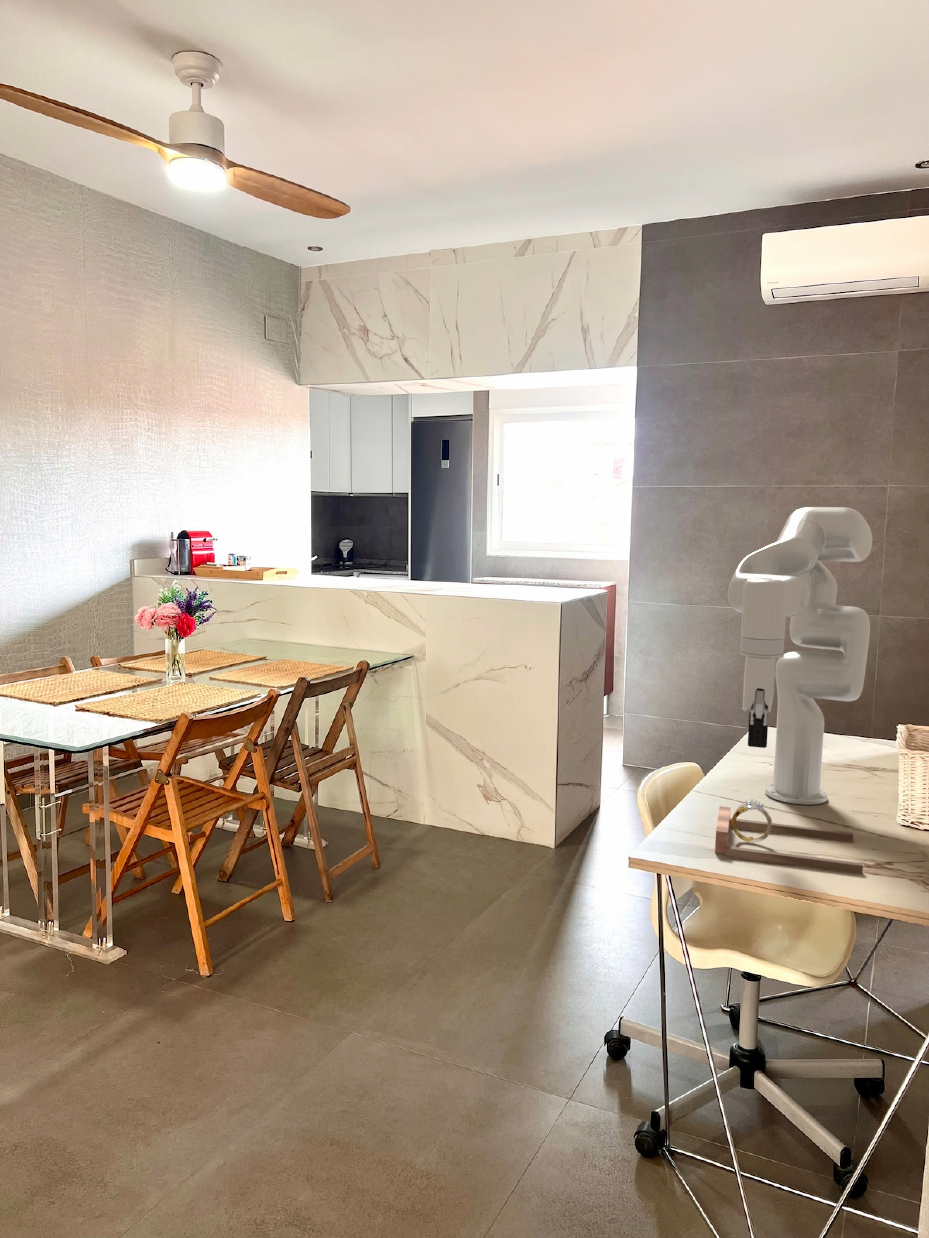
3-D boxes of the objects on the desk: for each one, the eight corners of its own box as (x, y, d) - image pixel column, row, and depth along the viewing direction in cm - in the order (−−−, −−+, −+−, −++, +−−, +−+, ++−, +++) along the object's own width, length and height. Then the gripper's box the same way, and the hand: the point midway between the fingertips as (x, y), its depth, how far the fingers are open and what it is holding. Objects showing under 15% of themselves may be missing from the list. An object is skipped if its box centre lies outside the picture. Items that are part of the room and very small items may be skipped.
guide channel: (718, 824, 173) (719, 804, 173) (852, 840, 166) (853, 819, 166) (714, 854, 157) (715, 832, 157) (862, 874, 150) (864, 851, 149)
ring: (771, 843, 163) (774, 801, 163) (769, 849, 160) (772, 806, 160) (732, 837, 166) (734, 795, 165) (729, 842, 163) (732, 800, 163)
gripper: (741, 639, 169) (736, 727, 171) (739, 653, 152) (734, 750, 155) (783, 641, 166) (778, 730, 169) (785, 655, 150) (780, 754, 152)
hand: (757, 740), depth 162 cm, fingers open, 9 cm apart
